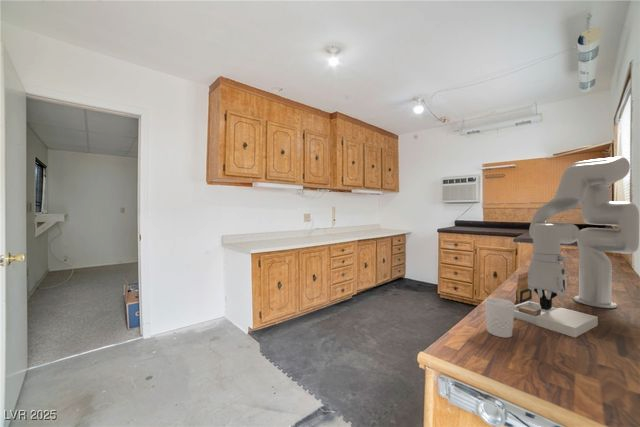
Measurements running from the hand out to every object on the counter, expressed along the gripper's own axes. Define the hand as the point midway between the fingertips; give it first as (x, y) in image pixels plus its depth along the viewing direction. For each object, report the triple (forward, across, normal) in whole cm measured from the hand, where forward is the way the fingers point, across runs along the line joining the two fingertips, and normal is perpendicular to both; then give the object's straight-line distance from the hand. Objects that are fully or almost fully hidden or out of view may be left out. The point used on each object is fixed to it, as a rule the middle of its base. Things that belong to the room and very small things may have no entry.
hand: (545, 308), depth 97 cm
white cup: (+4, +2, +26) cm, 26 cm away
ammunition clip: (+4, +14, -16) cm, 22 cm away
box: (+4, +4, 0) cm, 6 cm away
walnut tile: (+1, +5, 0) cm, 5 cm away
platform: (+4, -6, 0) cm, 7 cm away
